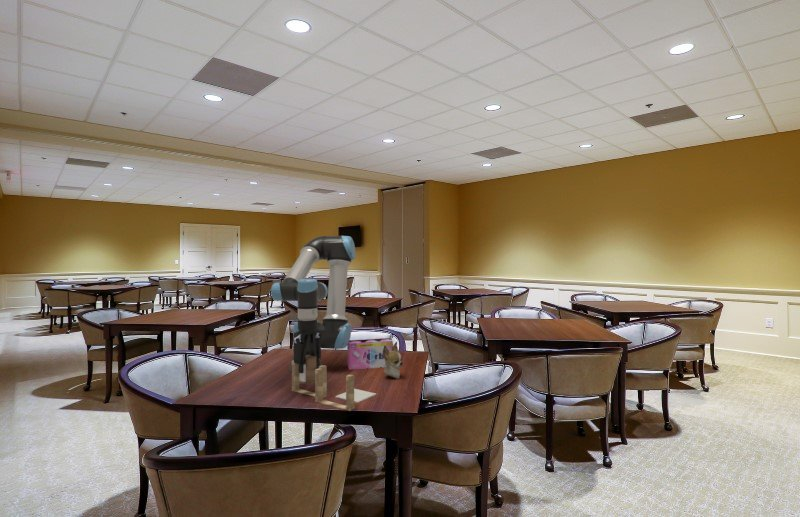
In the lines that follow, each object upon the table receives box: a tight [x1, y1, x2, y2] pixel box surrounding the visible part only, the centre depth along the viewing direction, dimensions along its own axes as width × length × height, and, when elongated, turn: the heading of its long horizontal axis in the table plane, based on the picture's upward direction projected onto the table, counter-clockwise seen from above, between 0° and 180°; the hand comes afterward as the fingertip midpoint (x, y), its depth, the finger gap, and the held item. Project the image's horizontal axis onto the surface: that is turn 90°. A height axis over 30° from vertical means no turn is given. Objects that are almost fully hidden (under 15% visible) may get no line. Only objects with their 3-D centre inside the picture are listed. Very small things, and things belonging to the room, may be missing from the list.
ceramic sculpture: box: [383, 341, 403, 380], centre depth 186 cm, size 11×9×15 cm
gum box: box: [346, 337, 394, 371], centre depth 205 cm, size 22×7×13 cm, turn 104°
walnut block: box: [299, 355, 316, 386], centre depth 164 cm, size 4×4×10 cm
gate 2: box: [314, 368, 355, 412], centre depth 151 cm, size 17×2×12 cm, turn 56°
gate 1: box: [291, 360, 328, 399], centre depth 164 cm, size 17×2×12 cm, turn 56°
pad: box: [334, 388, 377, 404], centre depth 161 cm, size 11×11×1 cm
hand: (307, 379), depth 164 cm, fingers closed on walnut block, 4 cm apart
